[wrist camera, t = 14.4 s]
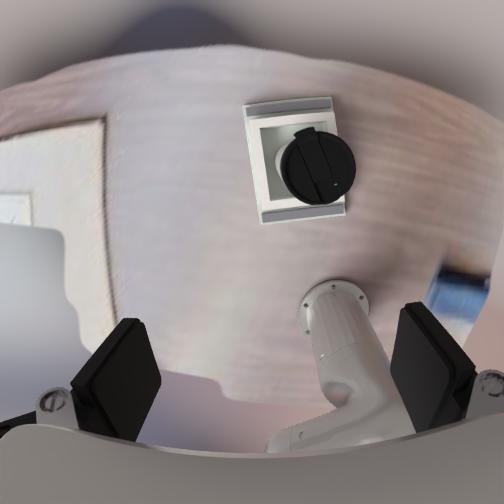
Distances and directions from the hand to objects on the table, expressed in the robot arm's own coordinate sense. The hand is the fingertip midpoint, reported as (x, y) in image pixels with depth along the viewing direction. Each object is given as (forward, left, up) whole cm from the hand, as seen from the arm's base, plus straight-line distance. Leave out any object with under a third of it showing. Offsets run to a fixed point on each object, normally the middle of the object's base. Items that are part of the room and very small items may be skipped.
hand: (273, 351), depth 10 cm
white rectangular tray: (+5, -5, -36) cm, 36 cm away
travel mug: (+5, -4, -35) cm, 36 cm away
